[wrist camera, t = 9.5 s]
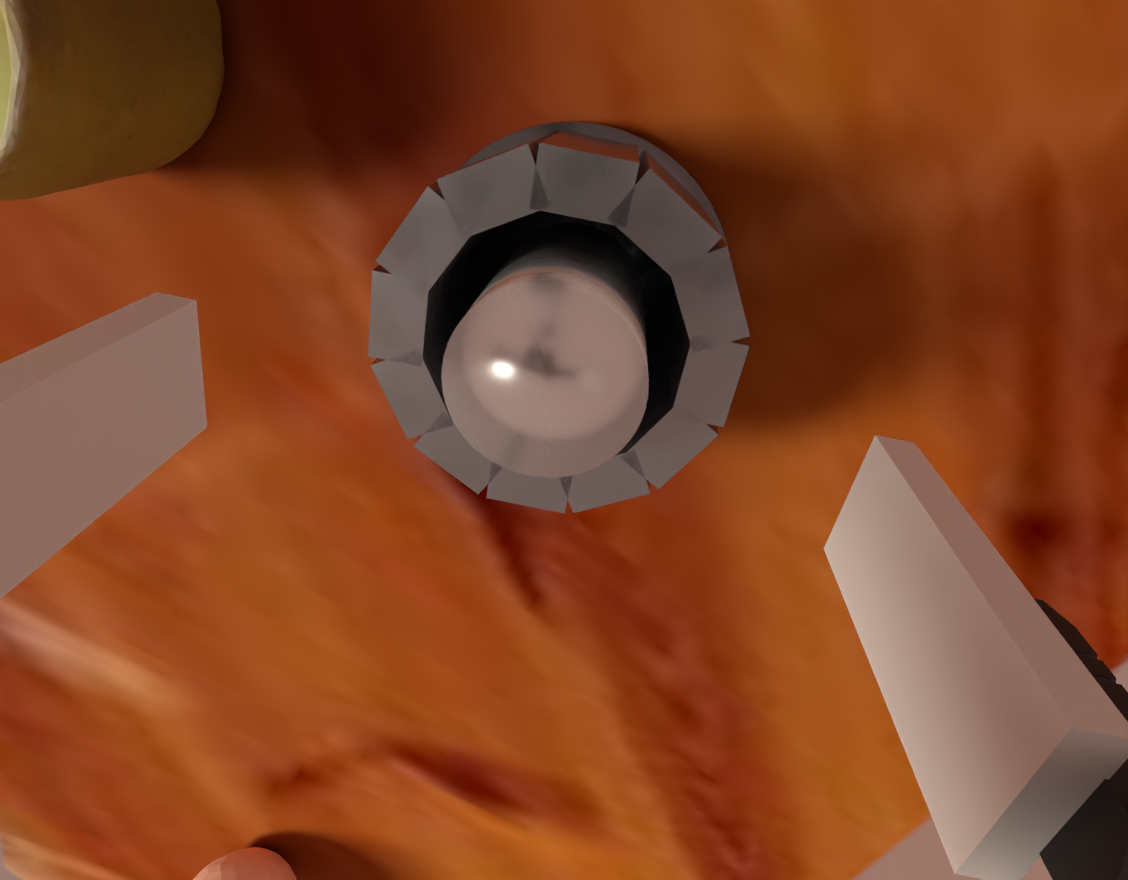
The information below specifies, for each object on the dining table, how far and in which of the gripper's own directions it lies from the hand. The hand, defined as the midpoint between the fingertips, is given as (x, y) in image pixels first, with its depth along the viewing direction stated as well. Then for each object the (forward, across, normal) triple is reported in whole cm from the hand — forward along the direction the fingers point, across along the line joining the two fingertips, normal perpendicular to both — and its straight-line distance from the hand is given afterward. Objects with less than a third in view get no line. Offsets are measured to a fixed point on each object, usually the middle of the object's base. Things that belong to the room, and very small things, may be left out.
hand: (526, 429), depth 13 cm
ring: (+11, 0, 0) cm, 11 cm away
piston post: (+12, 0, -1) cm, 12 cm away
